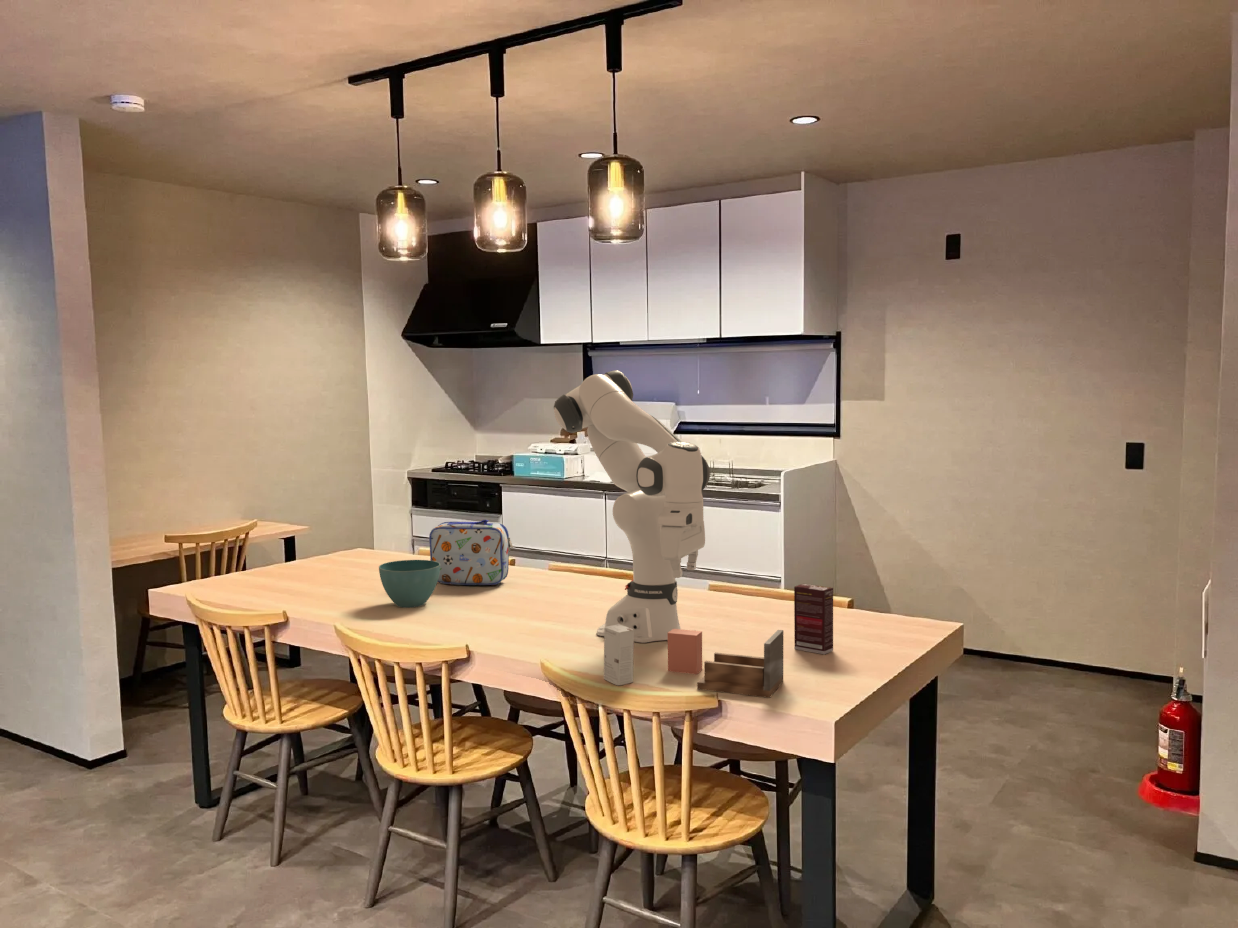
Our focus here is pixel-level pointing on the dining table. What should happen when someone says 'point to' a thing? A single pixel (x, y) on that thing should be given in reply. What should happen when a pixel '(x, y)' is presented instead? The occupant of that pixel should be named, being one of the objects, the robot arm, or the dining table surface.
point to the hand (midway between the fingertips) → (684, 573)
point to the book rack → (746, 671)
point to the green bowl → (409, 581)
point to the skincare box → (618, 654)
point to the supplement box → (813, 618)
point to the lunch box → (470, 552)
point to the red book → (685, 651)
